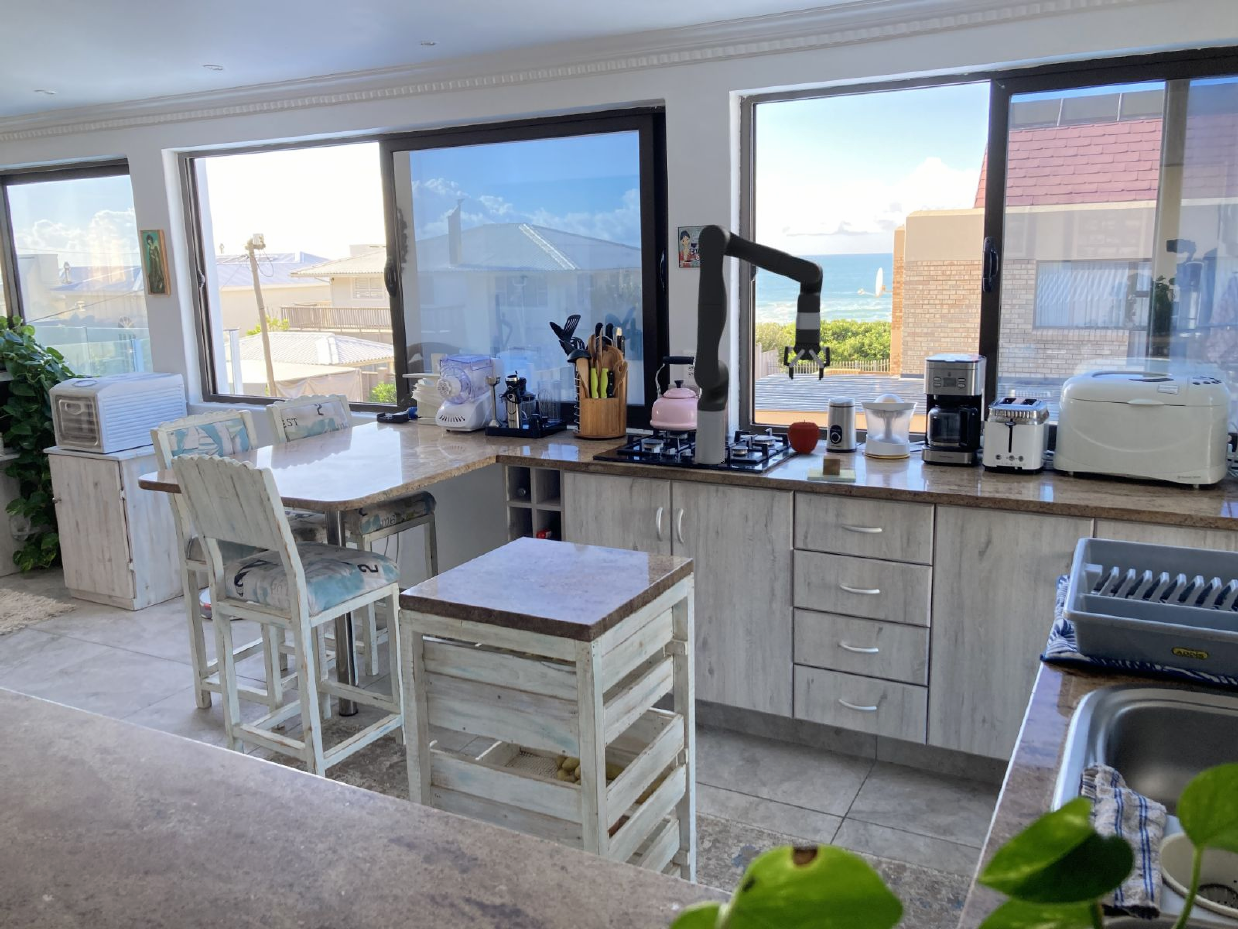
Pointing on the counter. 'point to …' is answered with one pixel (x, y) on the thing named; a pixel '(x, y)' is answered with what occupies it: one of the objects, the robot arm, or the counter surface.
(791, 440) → the apple
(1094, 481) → the counter surface
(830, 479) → the sage board
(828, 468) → the walnut cube
